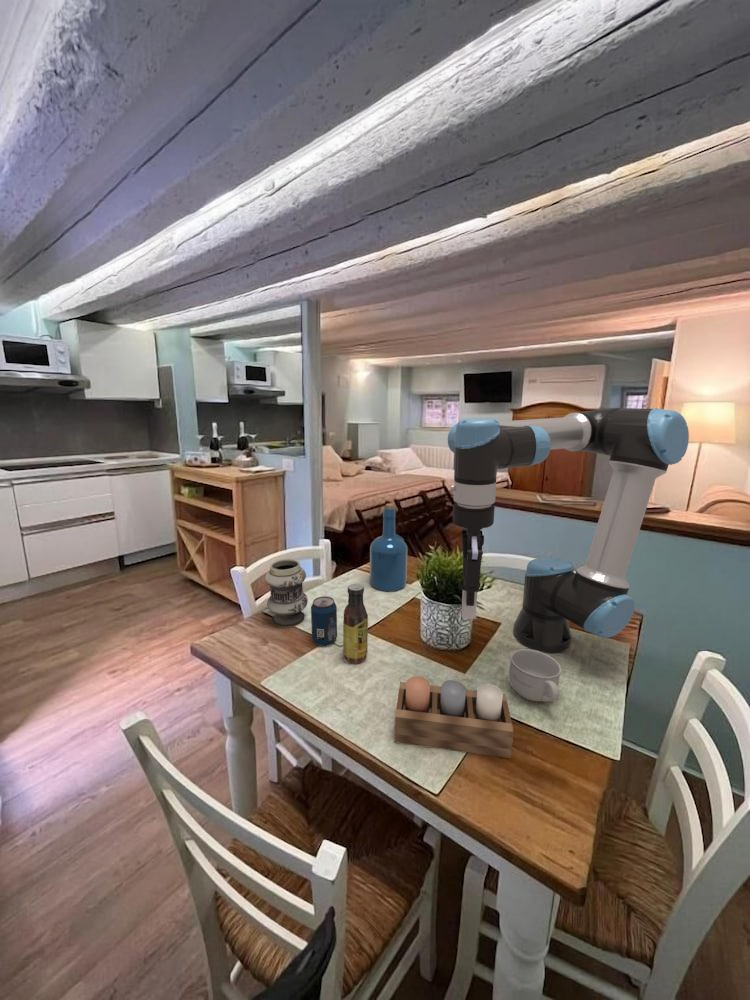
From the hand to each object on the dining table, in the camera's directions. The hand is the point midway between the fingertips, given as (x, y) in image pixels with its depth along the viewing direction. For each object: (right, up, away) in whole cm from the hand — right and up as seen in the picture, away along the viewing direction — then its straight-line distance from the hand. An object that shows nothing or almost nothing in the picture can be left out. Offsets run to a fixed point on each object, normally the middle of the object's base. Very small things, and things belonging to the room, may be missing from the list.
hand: (468, 616), depth 82 cm
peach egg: (-10, -19, +1) cm, 22 cm away
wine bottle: (-14, -7, +66) cm, 68 cm away
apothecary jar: (-45, -13, +42) cm, 63 cm away
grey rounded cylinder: (-3, -20, 0) cm, 20 cm away
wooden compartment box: (-3, -23, +1) cm, 24 cm away
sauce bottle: (-24, -18, +24) cm, 38 cm away
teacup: (+17, -21, +11) cm, 30 cm away
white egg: (+4, -20, -1) cm, 20 cm away
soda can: (-33, -16, +31) cm, 48 cm away
